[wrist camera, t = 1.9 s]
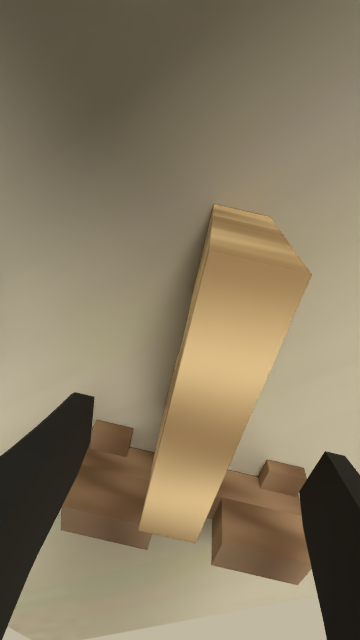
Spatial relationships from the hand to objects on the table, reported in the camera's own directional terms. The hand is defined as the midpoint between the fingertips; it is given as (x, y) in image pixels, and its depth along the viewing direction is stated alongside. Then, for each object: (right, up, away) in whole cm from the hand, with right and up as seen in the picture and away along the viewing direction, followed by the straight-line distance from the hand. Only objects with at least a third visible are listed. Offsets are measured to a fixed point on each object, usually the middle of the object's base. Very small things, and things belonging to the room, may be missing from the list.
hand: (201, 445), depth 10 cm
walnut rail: (0, -7, +12) cm, 13 cm away
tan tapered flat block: (+1, +3, +6) cm, 7 cm away
